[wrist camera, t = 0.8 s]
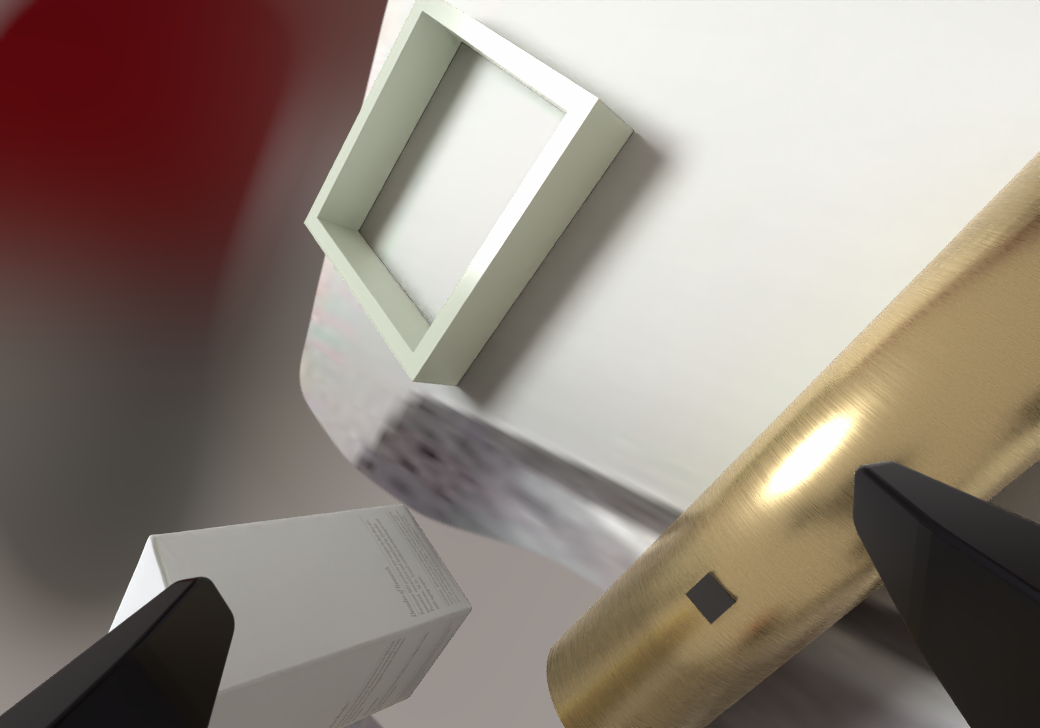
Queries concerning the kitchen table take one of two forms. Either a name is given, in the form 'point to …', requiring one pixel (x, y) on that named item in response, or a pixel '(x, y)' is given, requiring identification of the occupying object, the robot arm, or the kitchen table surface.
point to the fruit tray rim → (519, 231)
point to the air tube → (822, 488)
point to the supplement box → (314, 612)
